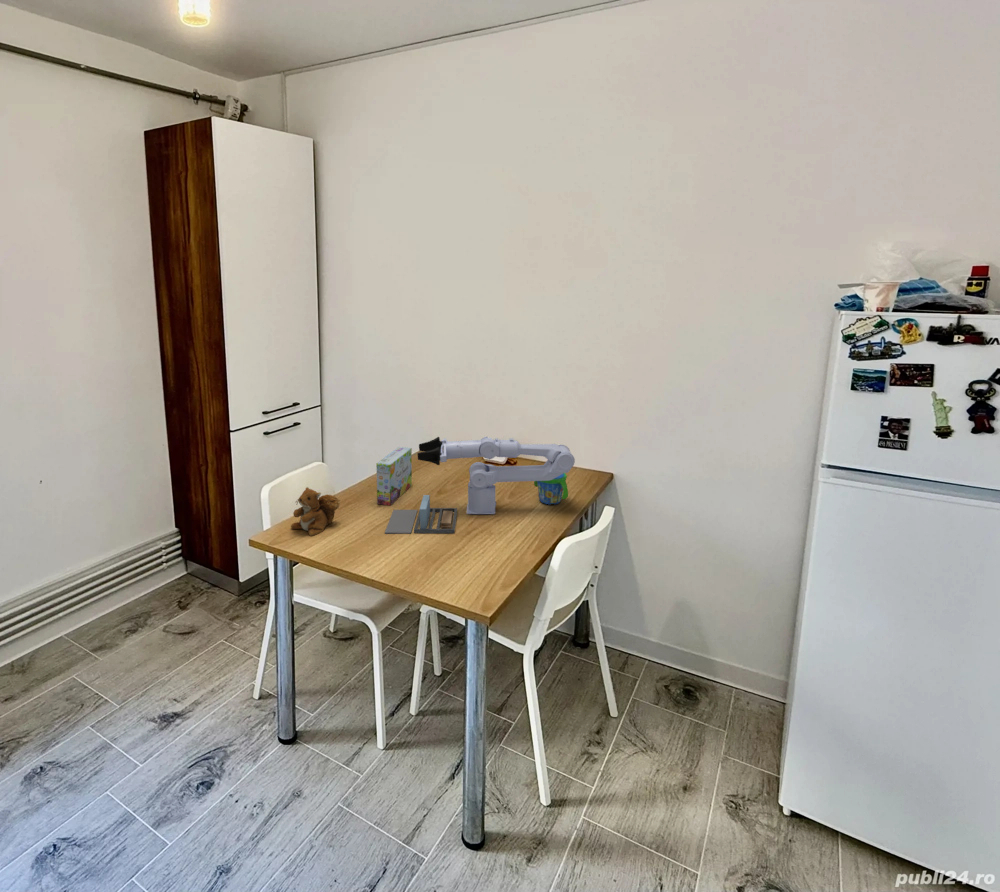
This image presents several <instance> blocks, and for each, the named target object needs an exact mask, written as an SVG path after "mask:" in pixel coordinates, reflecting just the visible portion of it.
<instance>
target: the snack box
mask: <svg viewBox="0 0 1000 892" xmlns="http://www.w3.org/2000/svg"><path fill="white" fill-rule="evenodd" d="M412 450H413V449H412V447H406V446H405V447H404V446H399V447H397V448H395V449H394V450H393V451H391V452H389V454H387V455H386V456H384V457H383V458H382V459H380V460H379V461H377V463H376V499H377V502H376V504H377V505H382V506H383V505H384V506H391V505H393V504H394V503H395V502H396V501H397V500H398V499H399V498H401V496H403V494H405V493H406V492H407V490H409V489H410V488H411V487H412V486H413V477H412V474H413V473H412V471H413V470H412V469H413V467H412V463H413V462H412V460H413V459H412V457H413V455H412Z"/></svg>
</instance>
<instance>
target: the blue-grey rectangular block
mask: <svg viewBox="0 0 1000 892" xmlns="http://www.w3.org/2000/svg"><path fill="white" fill-rule="evenodd" d="M430 496H431V495H430V494H423V495H422V498H421V503H420V506H419V510H420V522H419V529H428V527H429V523H430V518H431V512H430V508H431V497H430Z"/></svg>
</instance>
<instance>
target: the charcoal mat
mask: <svg viewBox="0 0 1000 892" xmlns="http://www.w3.org/2000/svg"><path fill="white" fill-rule="evenodd" d="M418 512H419V509H393V510H392V513H391V515H390V518H389V520H388V523H387V525H386V528H385V531H384V534H386V535H388V534H389V535H391V534H392V535H397V534H398V535H404V534H405V535H408V534H410V535H411V534H412V531H413V529H414V526H415V522H416V521H415V520H416V519H417V518H416V516H417V515H418Z"/></svg>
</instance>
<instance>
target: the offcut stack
mask: <svg viewBox="0 0 1000 892" xmlns="http://www.w3.org/2000/svg"><path fill="white" fill-rule="evenodd" d="M453 517H454V512H453V511H443V513H442V519H441V524H440V529H452V525H453Z"/></svg>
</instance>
